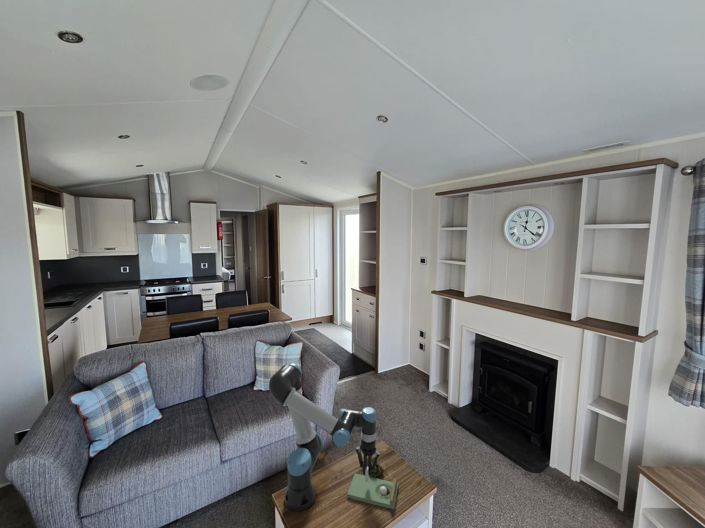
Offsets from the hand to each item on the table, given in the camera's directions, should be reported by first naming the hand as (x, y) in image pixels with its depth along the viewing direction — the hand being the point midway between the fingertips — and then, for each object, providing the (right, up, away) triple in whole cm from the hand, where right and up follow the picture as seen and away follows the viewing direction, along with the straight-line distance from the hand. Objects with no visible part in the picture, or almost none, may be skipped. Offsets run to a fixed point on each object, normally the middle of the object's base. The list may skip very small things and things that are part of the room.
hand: (367, 479), depth 164 cm
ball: (+8, -4, -3) cm, 9 cm away
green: (+3, -6, -1) cm, 7 cm away
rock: (+4, -4, +13) cm, 14 cm away
